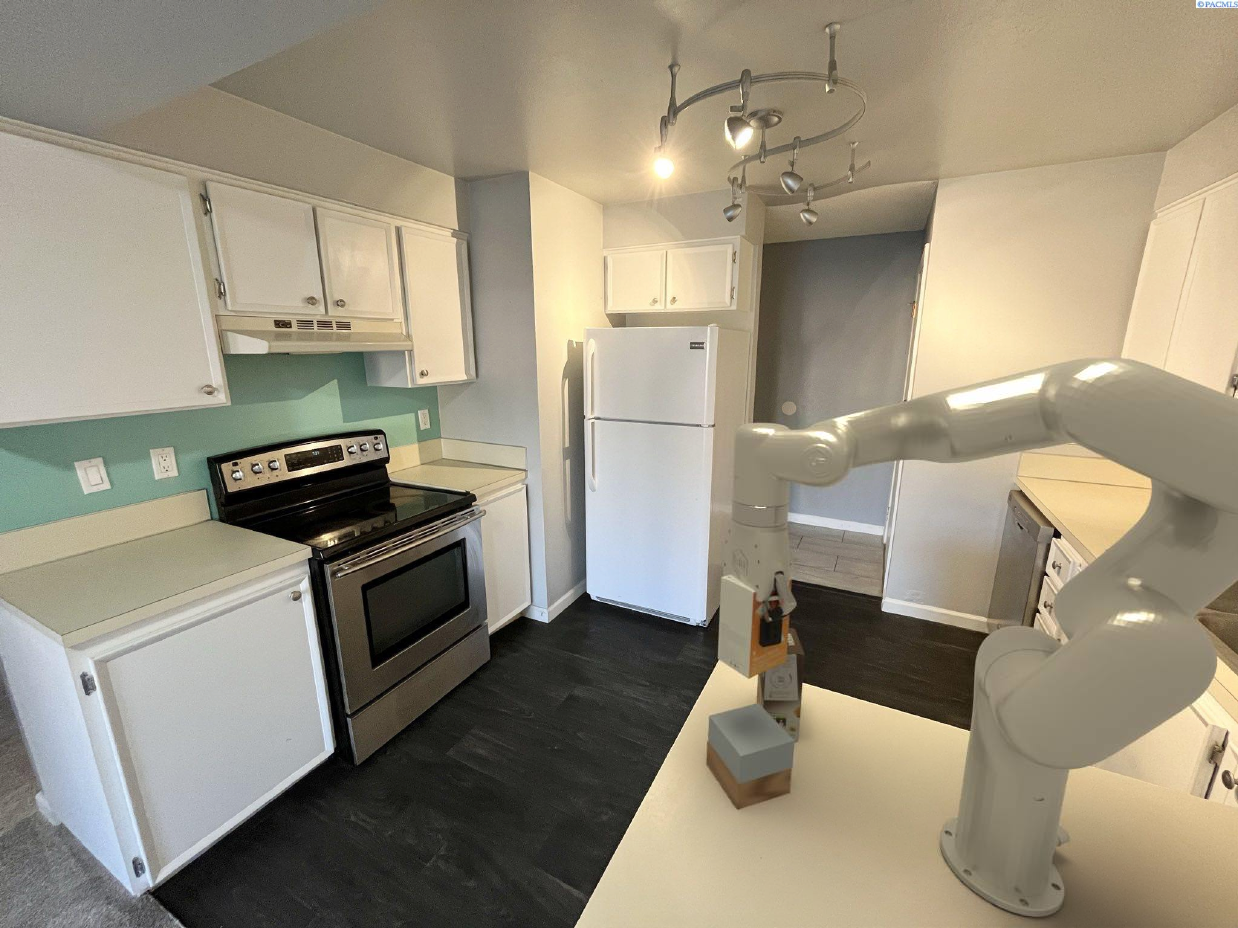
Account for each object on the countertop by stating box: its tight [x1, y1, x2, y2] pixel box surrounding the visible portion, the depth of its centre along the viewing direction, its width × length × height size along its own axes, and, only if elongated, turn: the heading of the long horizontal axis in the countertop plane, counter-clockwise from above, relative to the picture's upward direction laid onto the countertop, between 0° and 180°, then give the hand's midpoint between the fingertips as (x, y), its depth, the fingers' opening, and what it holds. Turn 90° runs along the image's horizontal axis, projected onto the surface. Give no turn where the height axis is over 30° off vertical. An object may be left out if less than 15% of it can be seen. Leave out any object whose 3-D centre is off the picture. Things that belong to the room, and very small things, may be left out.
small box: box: [717, 575, 793, 680], centre depth 75 cm, size 8×6×13 cm
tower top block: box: [707, 702, 795, 784], centre depth 78 cm, size 9×9×4 cm
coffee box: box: [756, 627, 806, 742], centre depth 90 cm, size 9×6×16 cm
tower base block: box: [706, 740, 793, 811], centre depth 79 cm, size 9×9×4 cm
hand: (753, 630), depth 75 cm, fingers closed on small box, 7 cm apart
